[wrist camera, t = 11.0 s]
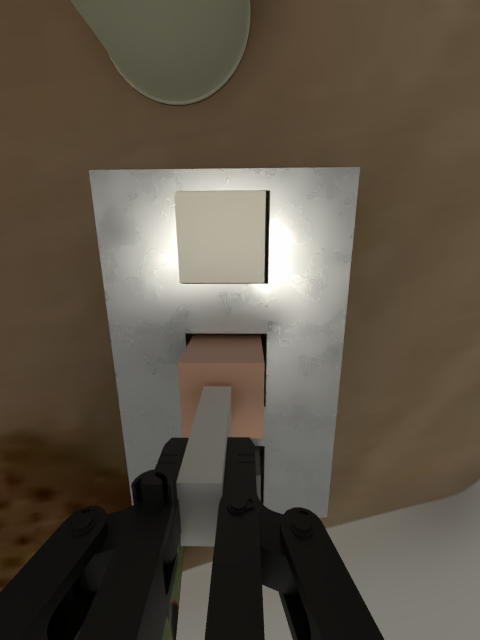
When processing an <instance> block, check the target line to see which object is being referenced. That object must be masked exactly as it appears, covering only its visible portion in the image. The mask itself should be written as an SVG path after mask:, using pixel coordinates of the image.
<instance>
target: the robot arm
mask: <svg viewBox="0 0 480 640" xmlns="http://www.w3.org/2000/svg"><path fill="white" fill-rule="evenodd" d="M231 432H232V417H231V386H204V387H203V391H202V394H201V398H200V401H199V405H198V408H197V412H196V415H195V419H194V422H193V426H192V429H191V433H190V436H189V438H175V437H172V438H171V439H170V440H169V441H168V442H167V443H166V444H165V445H164V447H163V449H162V452H161V455H160V457H159V459H158V463H157V464H156V467H155V469H154V470H149V471H146V472H144V473H142V474H140V475H139V476H138V477H136V478H135V479H134V481H133V482H132V484H131V488H132V495H133V503H134V505H133V506H131V507H130V508H128V509H125V510H122V511H119V512H115V513H112V514H108V515H106V512H105V510H104V509H102V508H101V507H99V506H89V507H85V508H82V509H80V510H78V511H76V512H75V513H73V514H72V515H71V516H70V517H69V518H67V519H66V520H65V521H64V523H63V524H62V525H61V526H60V527H59V528H58V529H57V530H56V531H55V532H54V534H53V535H52V536H51V537H50V538H49V539H48V540H47V541H46V542H45V544H44V545H43V546H42V547H41V548H40V549H39V550H38V551H37V552H36V553H35V555H34V556H33V557H32V558H31V559H30V560H29V561H28V562H27V563H26V565H25V566H24V567H23V568H22V569H21V570H20V571H19V572H18V573H17V574H16V576H15V577H14V578H13V579H12V580H11V581H10V582H9V583H8V584H7V586H6V587H5V588H4V589H3V590H2V591H1V592H0V640H162V637H163V632H164V627H165V622H166V618H167V613H168V608H169V603H170V598H171V593H172V589H173V584H174V579H175V574H176V569H177V564H178V552H177V549H178V544H179V540H180V539H181V546H214V555H213V564H212V575H211V584H210V594H209V604H208V613H207V623H206V632H205V640H265V639H264V619H263V618H264V617H263V596H262V585H265V586H267V587H269V588H272V589H274V590H276V591H279V595H280V598H281V602H282V605H283V608H284V611H285V615H286V618H287V622H288V625H289V628H290V631H291V635H292V638H293V640H384V638H383V636H382V634H381V633H380V631H379V629H378V627H377V625H376V623H375V621H374V619H373V618H372V616H371V614H370V612H369V610H368V608H367V606H366V605H365V602H364V601H363V599H362V597H361V595H360V593H359V591H358V589H357V587H356V585H355V584H354V582H353V580H352V578H351V576H350V574H349V572H348V570H347V569H346V567H345V565H344V563H343V561H342V559H341V557H340V555H339V554H338V552H337V550H336V548H335V546H334V544H333V542H332V540H331V539H330V537H329V535H328V533H327V531H326V529H325V527H324V525H323V523H322V522H321V520H320V519H319V518H318V516H317V515H316V514H315V513H313V512H312V511H310V510H308V509H305V508H302V507H293V508H291V509H289V510H287V511H286V512H285V513H284V514H280V513H277V512H274V511H272V510H270V509H268V508H267V507H265V506H264V505H263V504H262V503H261V501H260V500H259V498H258V495H257V484H256V464H255V445H254V443H253V442H252V440H251V439H250V437H231Z"/></svg>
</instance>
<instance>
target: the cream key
mask: <svg viewBox="0 0 480 640" xmlns="http://www.w3.org/2000/svg"><path fill="white" fill-rule="evenodd" d="M174 198H175V215H176V232H177V248H178V265H179V282H180V283H264V269H265V211H266V191H181V192H174Z"/></svg>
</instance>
